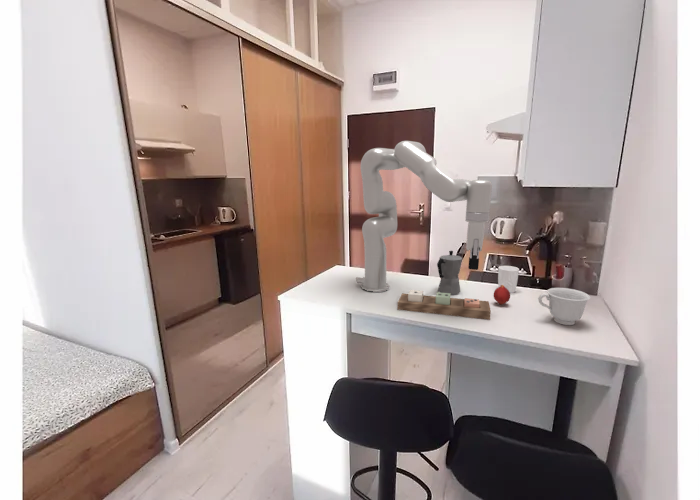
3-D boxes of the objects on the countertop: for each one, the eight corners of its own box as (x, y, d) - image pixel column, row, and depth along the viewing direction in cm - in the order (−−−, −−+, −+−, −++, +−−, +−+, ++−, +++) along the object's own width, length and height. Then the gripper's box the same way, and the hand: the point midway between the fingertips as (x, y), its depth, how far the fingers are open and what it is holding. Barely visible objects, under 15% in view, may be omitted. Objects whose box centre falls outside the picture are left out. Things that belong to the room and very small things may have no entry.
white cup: (492, 289, 144) (494, 267, 142) (505, 286, 147) (507, 264, 145) (507, 294, 137) (509, 271, 135) (521, 292, 140) (523, 269, 138)
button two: (435, 304, 121) (435, 296, 120) (436, 300, 125) (436, 291, 125) (449, 306, 119) (450, 297, 119) (450, 301, 124) (450, 292, 123)
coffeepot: (448, 285, 149) (450, 246, 146) (467, 290, 142) (470, 250, 138) (427, 293, 140) (428, 252, 136) (446, 299, 133) (448, 255, 129)
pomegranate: (496, 300, 130) (498, 281, 129) (511, 304, 126) (513, 284, 125) (490, 304, 127) (491, 284, 125) (505, 308, 122) (507, 288, 121)
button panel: (397, 309, 123) (397, 302, 123) (402, 300, 133) (402, 293, 132) (490, 319, 113) (490, 311, 113) (488, 308, 122) (488, 301, 122)
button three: (464, 311, 118) (464, 302, 117) (464, 306, 123) (464, 297, 122) (479, 312, 116) (479, 303, 116) (478, 307, 121) (479, 298, 120)
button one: (408, 302, 124) (408, 293, 123) (410, 297, 129) (410, 289, 128) (421, 303, 122) (421, 294, 122) (423, 298, 127) (423, 290, 126)
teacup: (528, 313, 118) (531, 287, 115) (573, 314, 116) (577, 287, 114) (544, 328, 106) (548, 299, 104) (594, 330, 104) (599, 300, 102)
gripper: (465, 214, 121) (462, 262, 125) (465, 219, 107) (461, 274, 111) (487, 215, 118) (483, 264, 122) (490, 220, 104) (485, 276, 108)
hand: (473, 268), depth 117 cm, fingers closed
